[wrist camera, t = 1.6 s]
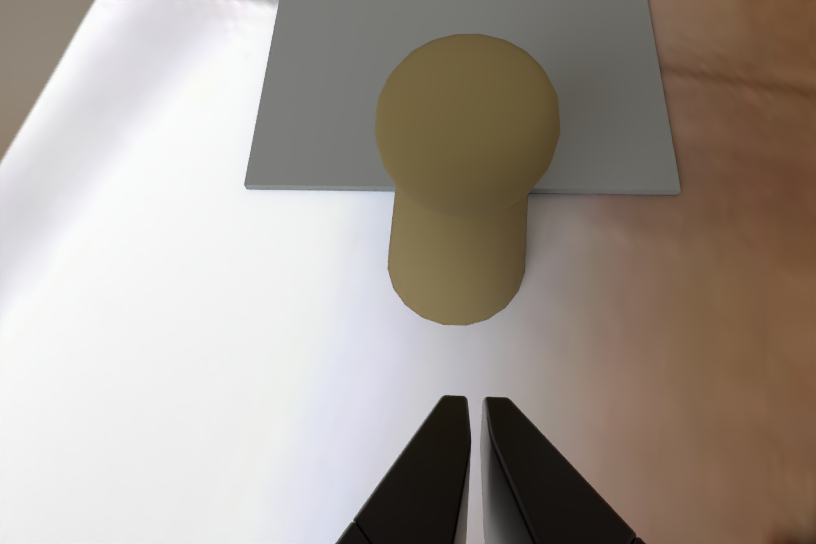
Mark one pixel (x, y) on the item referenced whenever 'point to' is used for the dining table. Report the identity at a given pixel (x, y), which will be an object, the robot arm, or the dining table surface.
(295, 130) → the rubber mat
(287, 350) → the dining table surface
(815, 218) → the dining table surface
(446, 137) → the cork
